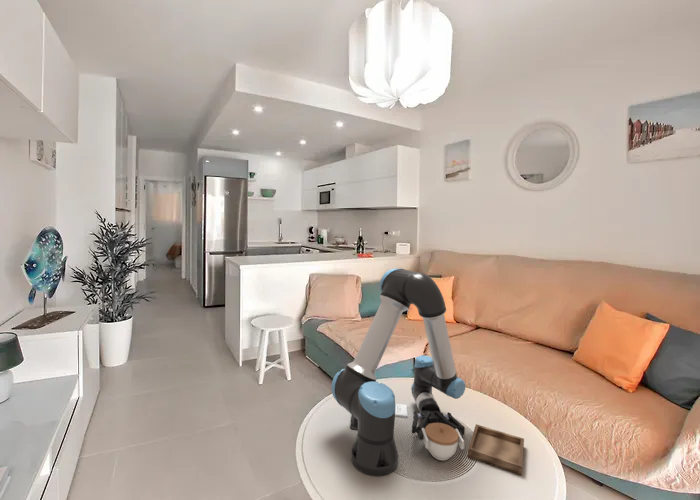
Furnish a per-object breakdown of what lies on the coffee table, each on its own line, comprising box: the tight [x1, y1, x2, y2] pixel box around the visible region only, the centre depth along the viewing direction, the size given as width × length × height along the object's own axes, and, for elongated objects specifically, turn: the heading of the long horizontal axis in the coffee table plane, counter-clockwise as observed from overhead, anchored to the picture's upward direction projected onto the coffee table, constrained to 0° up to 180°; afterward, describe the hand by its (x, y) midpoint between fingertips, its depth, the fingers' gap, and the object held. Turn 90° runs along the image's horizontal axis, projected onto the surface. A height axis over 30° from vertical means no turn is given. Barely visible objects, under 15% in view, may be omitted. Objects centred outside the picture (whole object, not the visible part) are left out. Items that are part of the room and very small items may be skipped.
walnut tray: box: [467, 423, 525, 477], centre depth 116 cm, size 16×16×3 cm
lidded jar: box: [424, 423, 459, 461], centre depth 113 cm, size 11×11×9 cm
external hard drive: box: [395, 403, 409, 419], centre depth 139 cm, size 2×8×12 cm
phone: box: [349, 414, 358, 431], centre depth 133 cm, size 8×1×15 cm
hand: (445, 444), depth 108 cm, fingers closed on lidded jar, 11 cm apart
